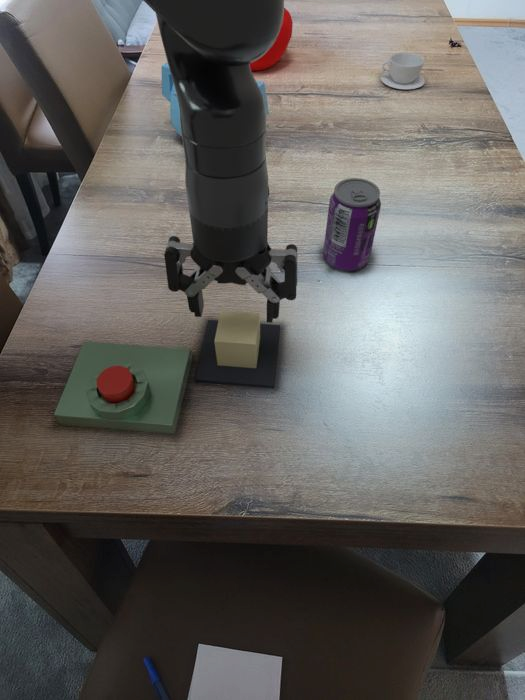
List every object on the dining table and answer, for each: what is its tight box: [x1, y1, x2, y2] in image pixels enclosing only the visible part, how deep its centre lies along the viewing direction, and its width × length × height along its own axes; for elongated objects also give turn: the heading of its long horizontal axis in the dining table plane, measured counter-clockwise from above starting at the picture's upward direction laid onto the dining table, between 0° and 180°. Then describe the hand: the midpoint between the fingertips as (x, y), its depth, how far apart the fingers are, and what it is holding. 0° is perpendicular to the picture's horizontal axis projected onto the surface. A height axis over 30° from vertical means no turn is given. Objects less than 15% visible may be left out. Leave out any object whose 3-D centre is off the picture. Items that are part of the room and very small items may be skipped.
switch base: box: [53, 340, 193, 435], centre depth 60 cm, size 14×11×4 cm
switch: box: [96, 366, 135, 402], centre depth 56 cm, size 4×4×2 cm
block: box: [214, 310, 261, 368], centre depth 62 cm, size 5×5×5 cm
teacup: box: [380, 51, 426, 90], centre depth 110 cm, size 10×10×5 cm
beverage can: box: [322, 177, 382, 271], centre depth 71 cm, size 7×7×12 cm
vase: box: [249, 7, 294, 72], centre depth 111 cm, size 18×18×19 cm
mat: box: [194, 319, 281, 389], centre depth 64 cm, size 10×10×1 cm
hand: (235, 314), depth 59 cm, fingers open, 8 cm apart
